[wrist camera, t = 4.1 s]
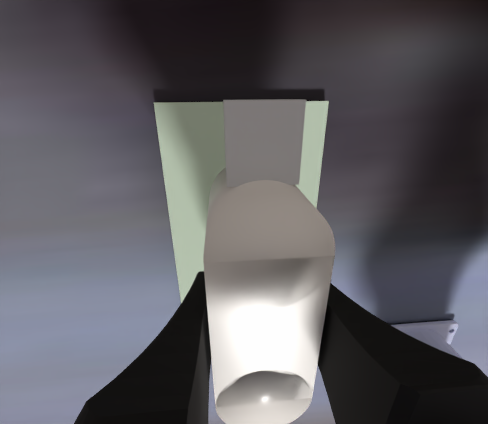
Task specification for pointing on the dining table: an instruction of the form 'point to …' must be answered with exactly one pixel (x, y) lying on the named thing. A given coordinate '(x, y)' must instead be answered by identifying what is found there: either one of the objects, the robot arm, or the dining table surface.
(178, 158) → the mat
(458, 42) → the dining table surface
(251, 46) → the dining table surface
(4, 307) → the dining table surface
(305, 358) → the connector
